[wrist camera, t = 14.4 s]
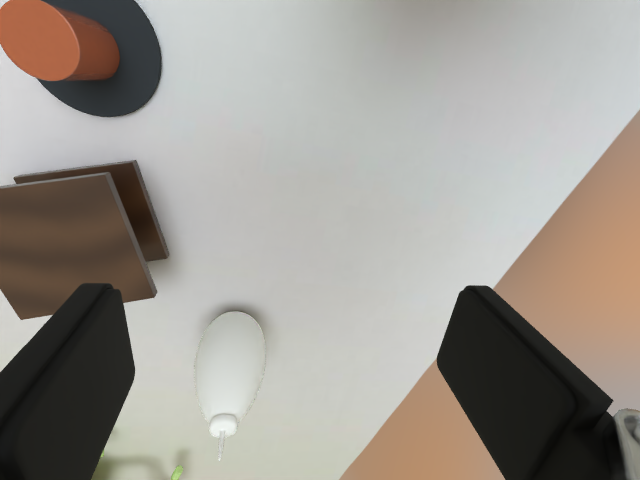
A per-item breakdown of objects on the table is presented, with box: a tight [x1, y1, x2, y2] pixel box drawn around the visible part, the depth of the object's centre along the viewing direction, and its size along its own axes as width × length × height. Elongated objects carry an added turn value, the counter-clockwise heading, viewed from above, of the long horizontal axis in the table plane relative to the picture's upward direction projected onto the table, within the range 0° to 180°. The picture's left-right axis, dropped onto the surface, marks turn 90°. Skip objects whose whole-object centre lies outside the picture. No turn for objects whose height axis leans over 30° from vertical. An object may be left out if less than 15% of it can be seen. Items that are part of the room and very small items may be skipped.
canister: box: [0, 0, 120, 81], centre depth 25 cm, size 5×5×7 cm
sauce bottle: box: [194, 311, 266, 461], centre depth 35 cm, size 8×8×18 cm
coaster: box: [37, 0, 161, 117], centre depth 28 cm, size 11×11×1 cm
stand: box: [0, 160, 169, 320], centre depth 31 cm, size 12×12×8 cm
